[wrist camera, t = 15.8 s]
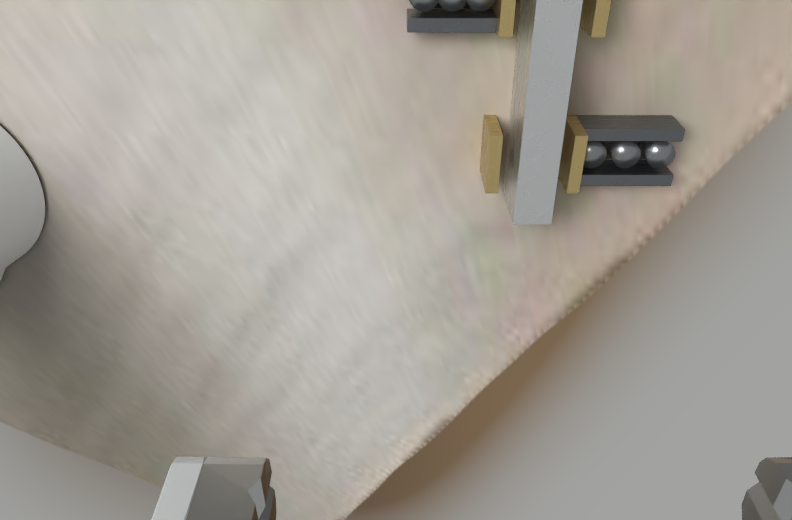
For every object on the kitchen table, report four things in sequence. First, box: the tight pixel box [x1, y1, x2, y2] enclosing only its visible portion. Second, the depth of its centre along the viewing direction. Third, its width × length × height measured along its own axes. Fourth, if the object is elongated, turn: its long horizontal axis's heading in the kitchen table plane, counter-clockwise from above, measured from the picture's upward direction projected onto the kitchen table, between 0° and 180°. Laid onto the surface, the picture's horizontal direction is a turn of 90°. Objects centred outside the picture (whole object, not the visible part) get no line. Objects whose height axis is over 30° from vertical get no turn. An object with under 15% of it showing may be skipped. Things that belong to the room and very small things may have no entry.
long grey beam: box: [503, 0, 583, 224], centre depth 41 cm, size 3×17×5 cm, turn 0°
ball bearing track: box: [407, 0, 685, 193], centre depth 41 cm, size 18×14×4 cm
